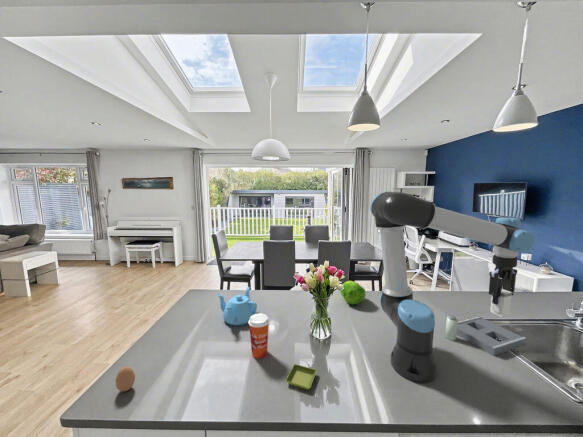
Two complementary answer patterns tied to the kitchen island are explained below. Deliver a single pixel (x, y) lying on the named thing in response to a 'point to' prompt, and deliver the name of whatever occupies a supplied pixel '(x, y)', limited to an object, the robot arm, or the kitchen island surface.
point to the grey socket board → (489, 336)
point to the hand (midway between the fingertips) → (499, 309)
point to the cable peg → (451, 328)
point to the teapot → (238, 309)
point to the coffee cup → (259, 334)
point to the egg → (125, 379)
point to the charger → (503, 303)
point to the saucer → (301, 376)
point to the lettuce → (353, 292)
